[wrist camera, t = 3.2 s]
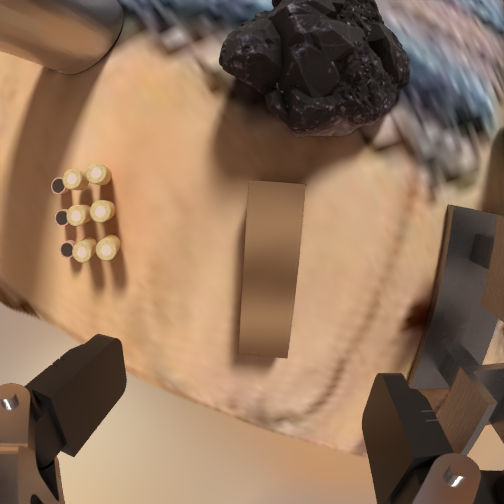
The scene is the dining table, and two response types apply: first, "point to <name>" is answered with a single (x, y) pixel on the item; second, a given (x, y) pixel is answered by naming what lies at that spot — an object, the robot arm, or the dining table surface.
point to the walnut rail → (270, 266)
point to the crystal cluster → (319, 64)
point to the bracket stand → (465, 328)
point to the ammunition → (86, 213)
